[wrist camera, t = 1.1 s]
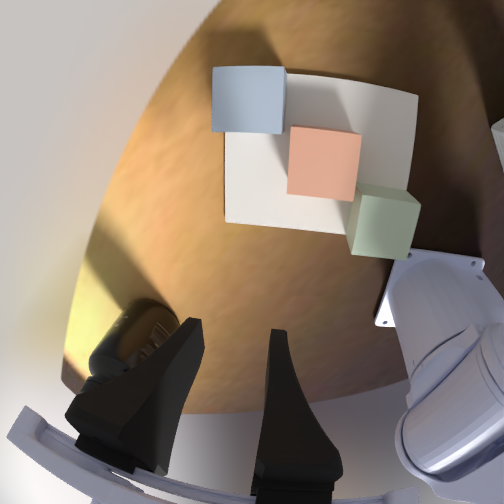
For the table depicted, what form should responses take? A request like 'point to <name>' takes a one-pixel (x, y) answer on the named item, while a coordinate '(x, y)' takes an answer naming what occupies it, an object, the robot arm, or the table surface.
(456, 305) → the robot arm
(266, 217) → the felt mat
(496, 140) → the skincare box
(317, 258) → the table surface
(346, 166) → the terracotta block
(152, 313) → the supplement bottle
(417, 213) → the sage block
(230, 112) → the slate block
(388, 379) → the table surface
